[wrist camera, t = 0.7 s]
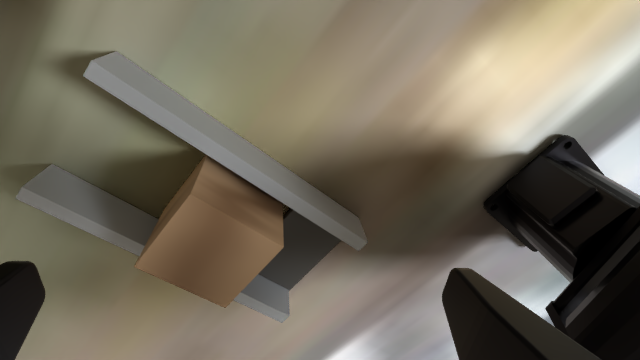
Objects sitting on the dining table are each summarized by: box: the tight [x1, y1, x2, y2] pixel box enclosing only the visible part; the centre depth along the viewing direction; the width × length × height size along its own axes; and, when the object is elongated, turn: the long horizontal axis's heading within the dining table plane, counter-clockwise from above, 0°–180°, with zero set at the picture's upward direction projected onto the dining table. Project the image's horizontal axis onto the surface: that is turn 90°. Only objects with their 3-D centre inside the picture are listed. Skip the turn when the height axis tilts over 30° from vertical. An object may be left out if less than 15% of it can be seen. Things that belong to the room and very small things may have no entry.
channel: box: [15, 51, 368, 323], centre depth 19 cm, size 16×8×2 cm, turn 49°
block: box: [134, 154, 284, 308], centre depth 19 cm, size 5×5×5 cm
